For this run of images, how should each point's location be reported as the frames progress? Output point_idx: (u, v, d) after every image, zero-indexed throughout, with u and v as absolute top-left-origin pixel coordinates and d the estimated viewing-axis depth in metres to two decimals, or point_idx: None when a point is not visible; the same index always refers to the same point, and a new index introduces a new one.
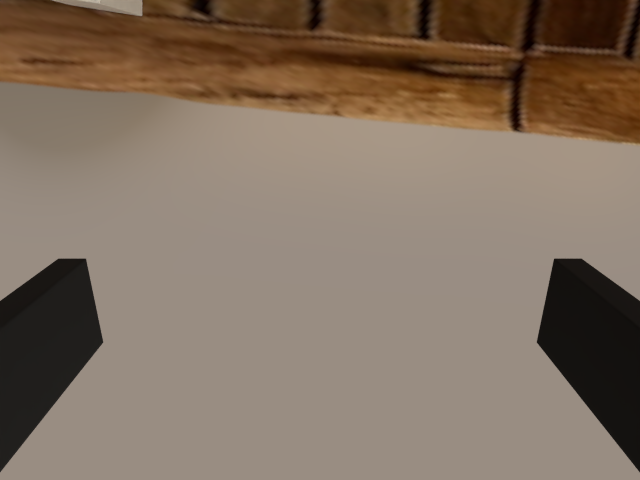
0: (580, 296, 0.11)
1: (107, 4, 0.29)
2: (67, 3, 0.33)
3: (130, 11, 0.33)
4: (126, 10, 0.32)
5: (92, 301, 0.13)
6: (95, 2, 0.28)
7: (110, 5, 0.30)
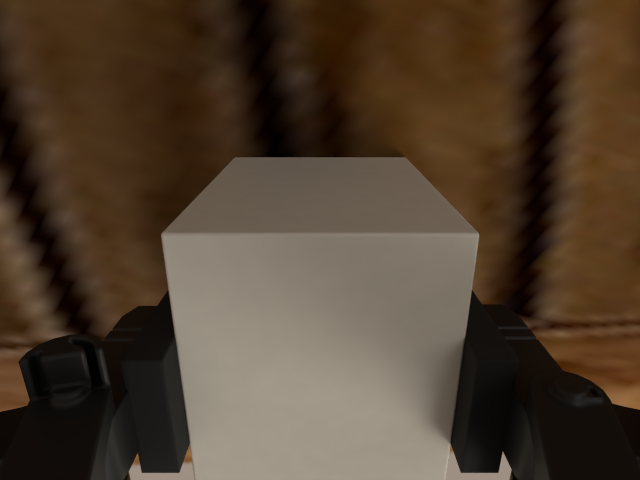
0: None
1: None
2: None
3: None
4: None
5: None
6: None
7: None
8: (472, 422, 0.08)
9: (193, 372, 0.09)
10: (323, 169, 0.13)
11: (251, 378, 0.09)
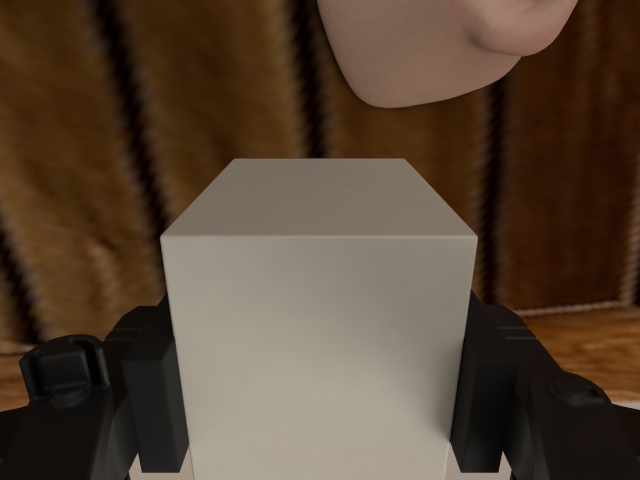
0: None
1: None
2: None
3: None
4: None
5: None
6: None
7: None
8: (472, 422, 0.08)
9: (192, 373, 0.09)
10: (322, 171, 0.13)
11: (250, 380, 0.09)
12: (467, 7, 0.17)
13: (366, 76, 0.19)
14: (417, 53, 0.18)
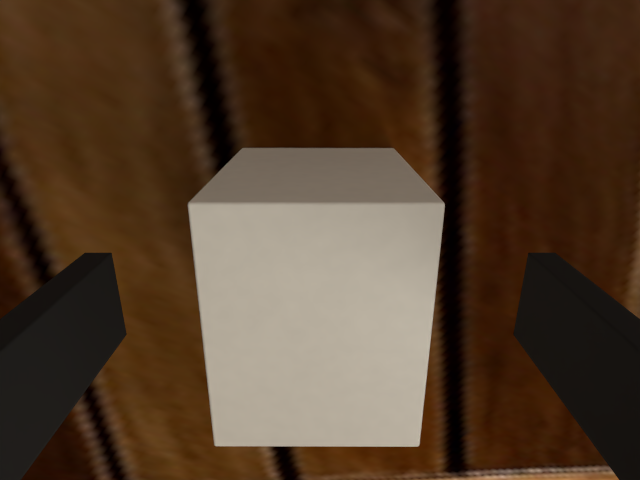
0: (552, 289, 0.11)
1: None
2: None
3: None
4: None
5: (117, 294, 0.13)
6: (407, 443, 0.12)
7: None
8: None
9: (212, 320, 0.11)
10: (320, 157, 0.15)
11: (259, 325, 0.11)
12: None
13: None
14: None
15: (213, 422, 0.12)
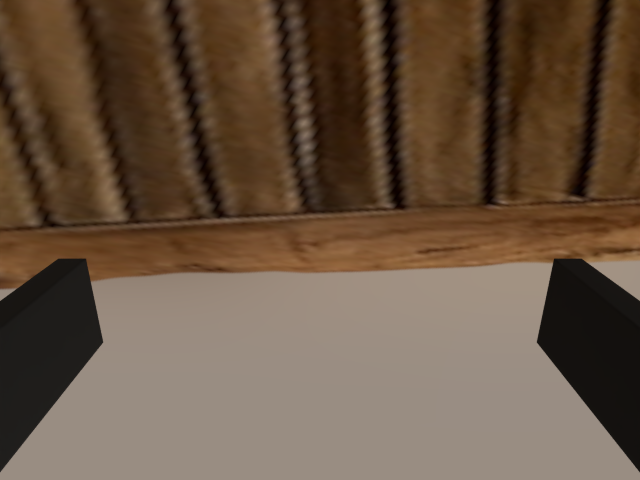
0: (581, 296, 0.11)
1: None
2: None
3: None
4: None
5: (92, 301, 0.13)
6: None
7: None
8: None
9: None
10: None
11: None
12: None
13: None
14: None
15: None
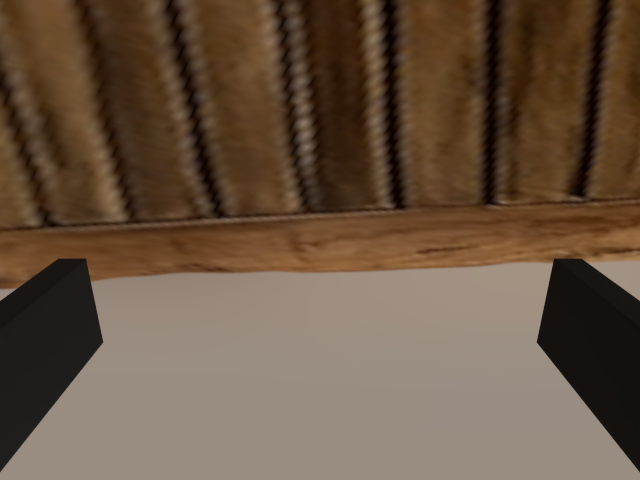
0: (581, 296, 0.11)
1: None
2: None
3: None
4: None
5: (92, 301, 0.13)
6: None
7: None
8: None
9: None
10: None
11: None
12: None
13: None
14: None
15: None
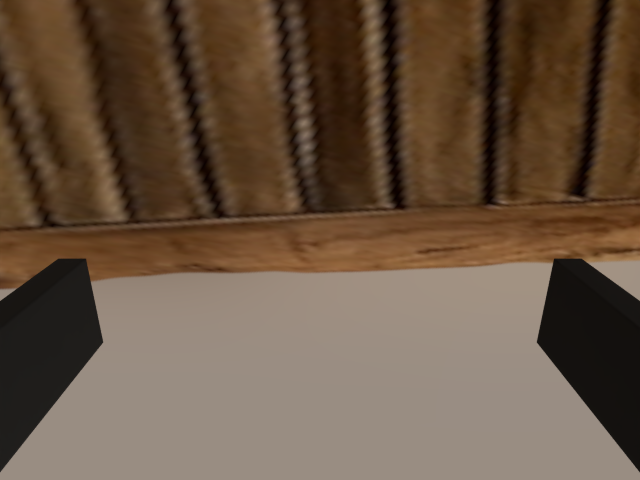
0: (581, 296, 0.11)
1: None
2: None
3: None
4: None
5: (92, 301, 0.13)
6: None
7: None
8: None
9: None
10: None
11: None
12: None
13: None
14: None
15: None
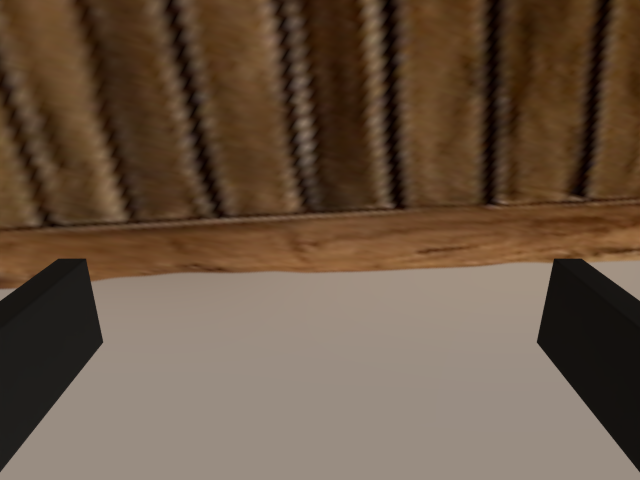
0: (581, 296, 0.11)
1: None
2: None
3: None
4: None
5: (92, 301, 0.13)
6: None
7: None
8: None
9: None
10: None
11: None
12: None
13: None
14: None
15: None
